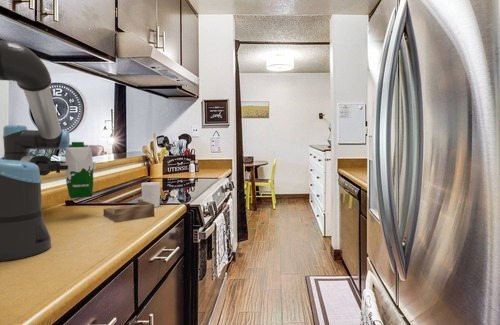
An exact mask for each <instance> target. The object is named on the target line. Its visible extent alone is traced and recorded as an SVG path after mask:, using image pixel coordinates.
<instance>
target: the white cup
mask: <svg viewBox="0 0 500 325" xmlns="http://www.w3.org/2000/svg"><path fill="white" fill-rule="evenodd" d="M140 185H141V198H142V199H141V200H143V201H146V202H149V203H152V204H154V208H157V207H160V203H161V202H160V201H161V182H158V181H157V182H156V181H150V182H147V181H146V182H142V183H140Z"/></svg>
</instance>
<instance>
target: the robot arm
mask: <svg viewBox="0 0 500 325" xmlns="http://www.w3.org/2000/svg"><path fill="white" fill-rule="evenodd" d="M0 81H13V82H16V84H17V86H18V87H19V89H21V90H22V91H23V93H24V95H25V97H26V98H25V99H26V101H27V104H28V106H29V108H30V111H31V114H32V117H33V119H34V122H35V125H36V128H37V130H35V129H33V130H32V129H28V127H27V126H26V125H22V124H21V125H20V124H7V125H4V126H3V136H2V138H3V150H4V151H3V152H4V153H3V156H2V157H0V262H5V261H13V260H18V259H24V258H29V257H32V256H35V255H38V254H41V253H44V252H46V251H48V250H49V249H50V248H51V247H52V238H51V235H50V233H49V230H48V229H47V225H46V224H45V221H44V219H43V214H42V213H43V211H42V210H43V208H42V206H43V205H42V186H41V185H42V179H41V177H44V176H48V175H49V174H50V173H52V172H55V173H56V174H60V173H61V172H66V171H78V170H77V164H66V161H63V160H51V159H50V158H49V157H48V156H45V155H29V150H63V149H64V150H66V148H70V142H71V141H70V140H71V139H70V138H71V137H70V133H69V131H67V130H63V129H62V128H61V125H60V121H59V117H58V113H57V110H56V106H55V102H54V99H53V95H52V91H51V88H50V86H51V85H52V78H51V75H50V72H49V70H48V68H47V66H46V65H45V64H44V62H43V61H42V59H41V58H39V56H37V54H36V53H34V52H33V51H32V50H31V49H30V48H28V47H27V46H25V45H23V44H21V43H18V42H17V41H12V40H7V39H6V40H2V39H0ZM96 168H97V166H96V162H95V161H93V170H97V169H96Z"/></svg>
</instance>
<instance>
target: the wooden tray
mask: <svg viewBox="0 0 500 325" xmlns="http://www.w3.org/2000/svg"><path fill="white" fill-rule="evenodd" d="M102 210H103V217H105V216H106V217H105V218H107V219H110V220H111V221H113V222H114V223H120V222H127V221H128V222H129V221H133V220H138V219H144V218H145V219H146V218H152V217H155V207H154V204H152V203H149V202H146V201H143V199H139V198H138V199H137V204H132V205H131V204H130V205H122V206H116V207H109V208H108V207H107V208H103V209H102Z"/></svg>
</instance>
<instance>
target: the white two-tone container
mask: <svg viewBox="0 0 500 325" xmlns="http://www.w3.org/2000/svg"><path fill="white" fill-rule="evenodd" d="M64 156H65V162H66V164H77V170H78V171H65V180H66V181H65V183H66V187H67V192H68V196H69V197H70V198H69V199H78V198H80V199H81V198H91V197H93V192H94V190H93V189H94V169H93V162H94V160H93V157H94V156H93V152H92V147H91V146H90V147H88V146H87V147H86V146H85V142H84V141H72V142H71V147H70V146H69V147H68V148H66V149H65V154H64Z"/></svg>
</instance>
